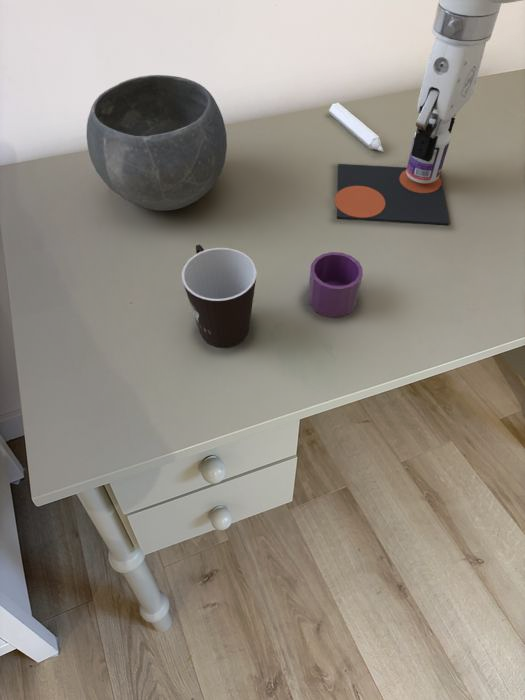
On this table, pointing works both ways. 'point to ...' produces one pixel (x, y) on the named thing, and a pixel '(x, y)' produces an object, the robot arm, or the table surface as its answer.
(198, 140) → the bowl
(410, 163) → the pill bottle
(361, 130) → the white pencil
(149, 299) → the table surface
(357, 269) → the cup
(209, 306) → the coffee mug
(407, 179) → the placemat
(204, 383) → the table surface
